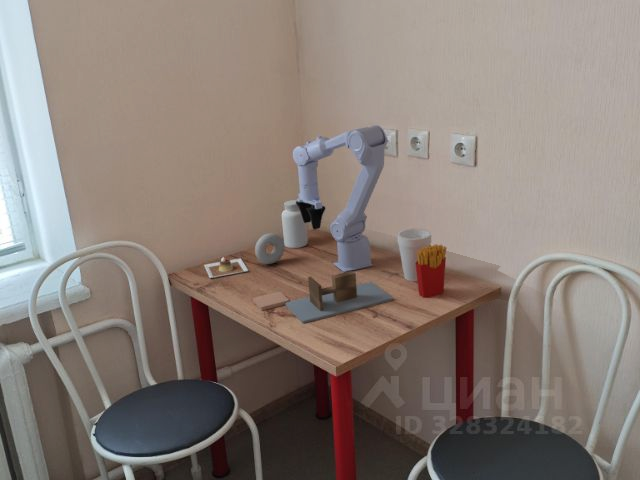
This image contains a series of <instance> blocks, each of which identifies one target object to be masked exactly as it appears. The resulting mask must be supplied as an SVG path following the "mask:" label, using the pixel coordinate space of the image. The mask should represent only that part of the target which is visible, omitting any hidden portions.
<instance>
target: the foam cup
mask: <svg viewBox="0 0 640 480" xmlns="http://www.w3.org/2000/svg"><path fill="white" fill-rule="evenodd" d="M431 243H432V232H431V231H429V230H427V229H423V228H408V229H407V228H406V229H402V230H400V231H399V232H397V244H398V249H399V254H400V260H401V265H402V272H403V276H404V279H405V280H407V281H410V282H418V281H417V272H416V264H415V263H416V262H417V261H418V258H417V253H418V252H419V250H420V249H423V248H425V249H426V246H428V247H429V245H431Z"/></svg>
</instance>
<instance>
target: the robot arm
mask: <svg viewBox="0 0 640 480" xmlns="http://www.w3.org/2000/svg"><path fill="white" fill-rule="evenodd" d="M388 142H389V140H388V138H387V135H386V132H385V131H384V129H383V127H382V126H380V125H375V124H374V125H371V126H367V127H365V126H364V127H361V128H356V129H352V130H348V131H344V132H342V133H340V134H338V135H336V136H333V137H332V138H329V137H326V136H324V137H323V136H321V135H320V136H318V137H316V139H315V140H313V141H311V140H310V141H307V142H306V143H305V144H304V145H298V146H296V147H295V148H294V149H293V151H292V158H293V161H294V162H295V163H296V165H297V170H298V171H297V172H298V173H297V174H298V183H299V192H298V198H296V200H297V201H296V204H297V206H298V207H299V209H300V212H301V215H302V218H303V221H304V223H306V224H307V223H311V226H312V229H313V230H318V229H321V226H322V225H321V224H322V219H323V216H324V213H325V210H326V206H324V205H323V203H322V201H321V197H320V195H319V179H318V169H317V168H318V166H319V160H322V159H325V158H327V157H330V156H332V155H333V153H334V150H336V149H339V148H342V147H345V146H346V148H347V149H350V152H351V153H352V154H353V155H354V157H355V159H356V160H357V162H358V163H359V164H361V169H360V171H359V174H358V176H357V179H356V181H355V183H354V185H353V188H352V191H351V193H350V196H349V199H348V201H347V203H346V205H345V208H344V209H343V210H342V211H341V212H340V213H339V214H338V215H336V219H335V220H333V221H332V222H331V224H330V233H331V236H332V238H334V240H335V241H336V245H337V246H336V248H337V261H335V262H333V265H334V266H335V267H337V268H338V269H339V270H341V271H342V273H346V272H350V271H356V270H360V269H364V268H369V267H372V266H373V264H372V258H371V257H372V256H371V245H370V240H369V238H368V237H367V236H366V235H365V234H363V232H364V231H365V229H366V220H367V218H368V217H367V216H368V215H366V213H365V211H366V208H367V206H368V203H369V201H370V199H371V196H372V194H373V192H374V190H375V187H376V185H377V183H378V180H379V178H380V176H381V174H382V172H383V169H384V167H385V149H386V147H387V144H388Z"/></svg>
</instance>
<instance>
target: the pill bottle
mask: <svg viewBox="0 0 640 480" xmlns="http://www.w3.org/2000/svg"><path fill="white" fill-rule="evenodd" d="M296 201H297V199H296V200H295V199H293V200H292V199H291V200H287V201H285V202H284V203H283V205H284V206H283V207H284V210H283V211H282V212H281V223H282V233H283V242H284V247H285V248H289V249H299V248H303V247H305V246H307V245H308V233H307V231H308V230H307V223H304V221H303V218H302V215H301V212H300V209H299V207H298V206H297V204H296Z"/></svg>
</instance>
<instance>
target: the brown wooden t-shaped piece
mask: <svg viewBox="0 0 640 480" xmlns="http://www.w3.org/2000/svg"><path fill="white" fill-rule="evenodd" d="M356 276H357V275H356V272H354V270H352V271H347V272H342V273H338V274H333V275H331V279H332V280H331V283H332V286H328V287H323V288H322V285H321V284H320V283H319V282H318V281H316V280H315V278H313V277H312V276H308V277H307V280H308V281H307V282H308V292H309V297H310V302H311V303H312V304H313V305H314V306H316V307H317V308H318V309H319V310H320V311H323V301H322V295H326V294H331V293H333V298H334V301H336V302H341V301H345V300H349V299H353V298H357V288H356V285H357V277H356Z"/></svg>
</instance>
